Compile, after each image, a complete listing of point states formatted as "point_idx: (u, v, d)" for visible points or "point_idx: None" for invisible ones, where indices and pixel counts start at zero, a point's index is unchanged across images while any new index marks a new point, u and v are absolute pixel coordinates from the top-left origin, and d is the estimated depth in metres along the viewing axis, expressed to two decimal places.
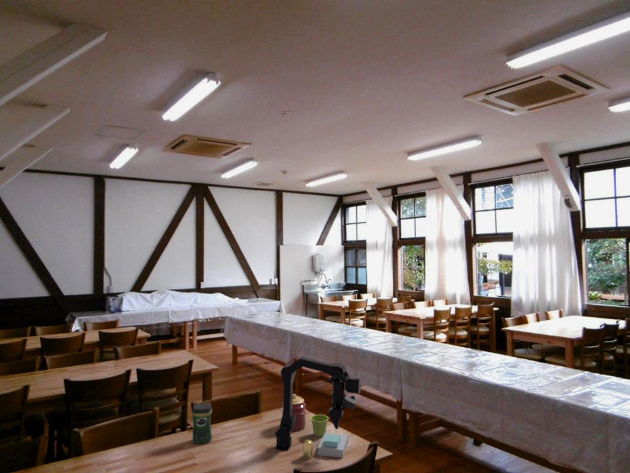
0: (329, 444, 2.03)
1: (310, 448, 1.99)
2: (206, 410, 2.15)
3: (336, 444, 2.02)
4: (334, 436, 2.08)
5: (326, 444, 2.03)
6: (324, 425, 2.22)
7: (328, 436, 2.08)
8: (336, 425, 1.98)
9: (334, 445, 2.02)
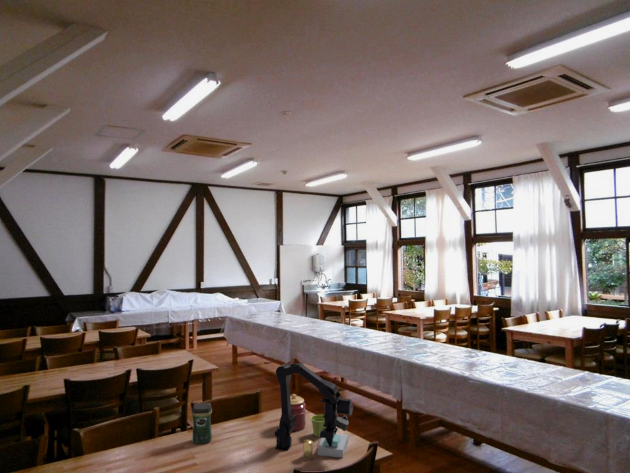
0: None
1: (310, 448, 1.99)
2: (206, 410, 2.15)
3: (336, 444, 2.03)
4: (334, 436, 2.09)
5: (326, 444, 2.04)
6: None
7: None
8: (330, 442, 2.01)
9: (334, 445, 2.03)
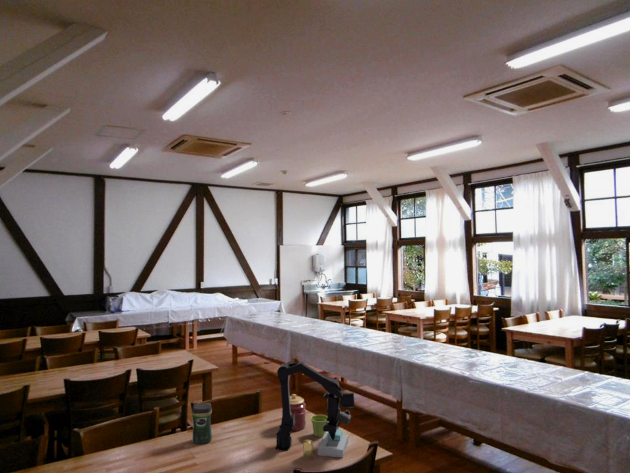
0: None
1: (310, 448, 1.99)
2: (206, 410, 2.15)
3: (339, 437, 2.09)
4: (337, 430, 2.15)
5: (329, 438, 2.10)
6: None
7: None
8: (332, 436, 2.08)
9: (337, 438, 2.10)
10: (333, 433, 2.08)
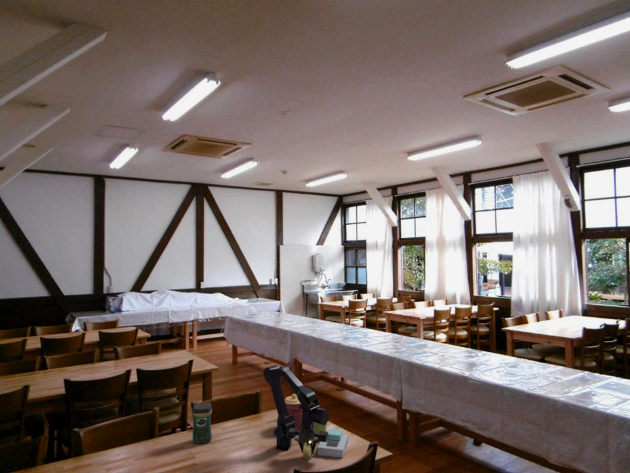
0: (332, 437, 2.10)
1: (310, 448, 1.99)
2: (206, 410, 2.15)
3: (339, 437, 2.09)
4: (337, 430, 2.16)
5: (329, 438, 2.11)
6: (324, 425, 2.22)
7: (331, 430, 2.16)
8: None
9: (337, 438, 2.10)
10: None
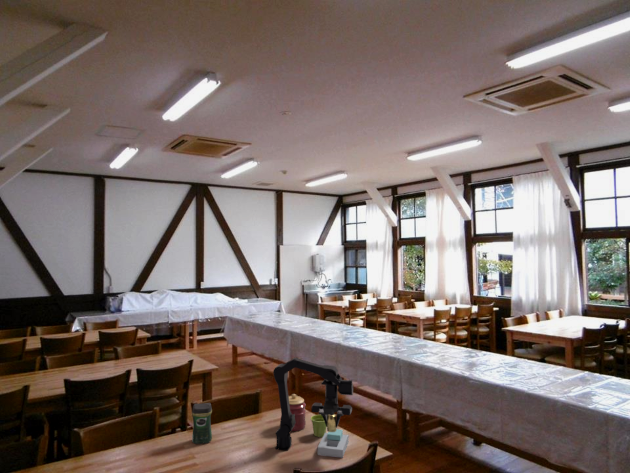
0: (332, 437, 2.10)
1: (334, 421, 2.05)
2: (206, 410, 2.15)
3: (339, 437, 2.09)
4: (337, 430, 2.16)
5: (329, 438, 2.11)
6: (324, 425, 2.22)
7: None
8: None
9: (337, 438, 2.10)
10: None
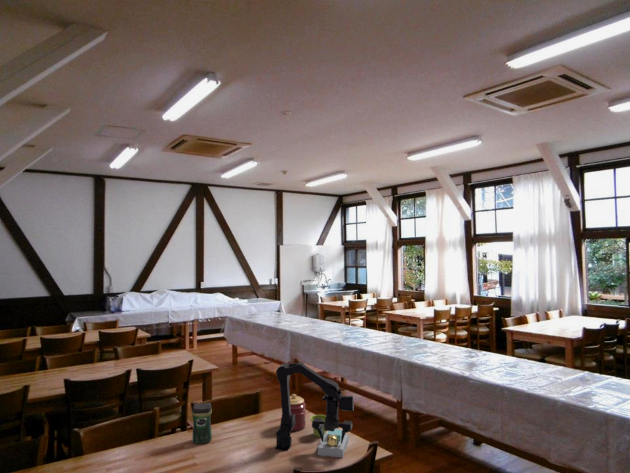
0: None
1: (334, 443, 2.04)
2: (206, 410, 2.15)
3: (339, 437, 2.09)
4: (337, 430, 2.16)
5: None
6: None
7: None
8: None
9: (337, 438, 2.10)
10: None
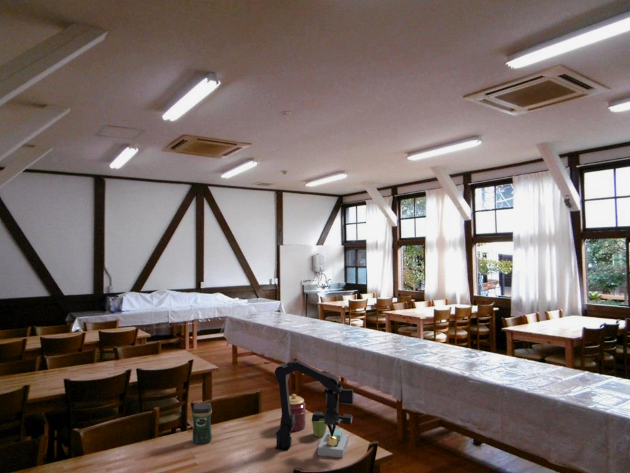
0: None
1: (334, 443, 2.04)
2: (206, 410, 2.15)
3: (339, 437, 2.09)
4: (337, 430, 2.16)
5: None
6: (324, 425, 2.22)
7: None
8: None
9: (337, 438, 2.10)
10: None
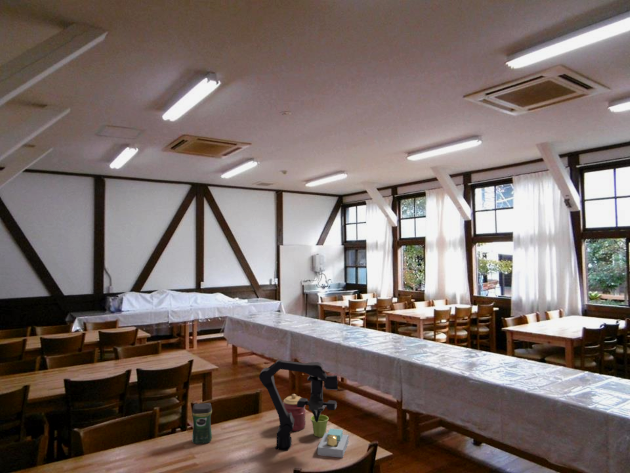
0: None
1: (334, 443, 2.04)
2: (206, 410, 2.15)
3: (339, 437, 2.09)
4: (337, 430, 2.16)
5: None
6: (324, 425, 2.22)
7: (331, 430, 2.16)
8: None
9: (337, 438, 2.10)
10: None
